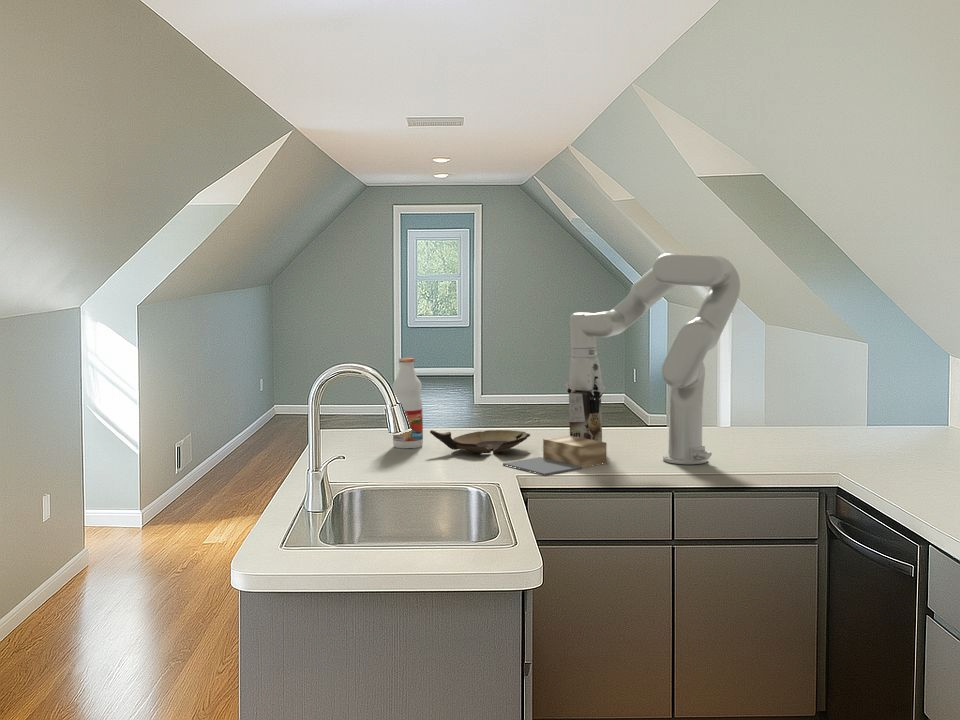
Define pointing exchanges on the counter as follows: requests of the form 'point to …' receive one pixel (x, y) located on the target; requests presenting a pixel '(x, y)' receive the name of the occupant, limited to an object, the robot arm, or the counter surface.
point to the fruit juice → (409, 404)
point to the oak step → (575, 450)
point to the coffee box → (584, 417)
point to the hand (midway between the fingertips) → (585, 411)
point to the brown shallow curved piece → (483, 440)
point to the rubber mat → (543, 466)
